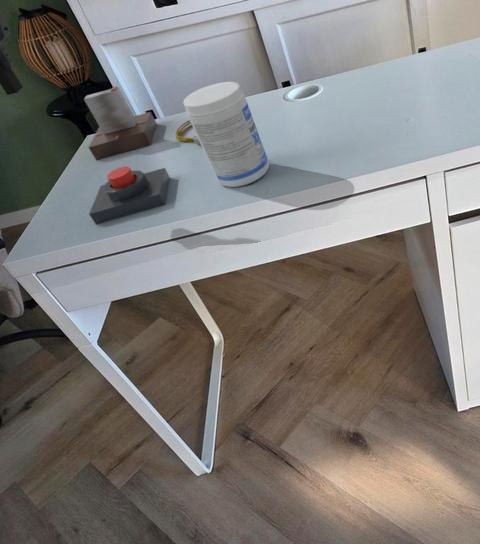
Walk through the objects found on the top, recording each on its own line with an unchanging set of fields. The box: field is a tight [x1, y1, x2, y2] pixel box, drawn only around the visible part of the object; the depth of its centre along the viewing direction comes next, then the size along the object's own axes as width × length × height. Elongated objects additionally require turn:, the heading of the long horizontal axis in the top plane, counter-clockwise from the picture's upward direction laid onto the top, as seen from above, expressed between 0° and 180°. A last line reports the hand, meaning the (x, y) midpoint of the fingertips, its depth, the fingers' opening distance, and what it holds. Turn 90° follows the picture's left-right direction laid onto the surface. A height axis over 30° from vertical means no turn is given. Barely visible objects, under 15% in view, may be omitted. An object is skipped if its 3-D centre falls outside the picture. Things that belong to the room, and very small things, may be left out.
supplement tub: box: [182, 81, 270, 188], centre depth 81 cm, size 10×10×15 cm
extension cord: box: [175, 120, 201, 146], centre depth 103 cm, size 12×16×2 cm
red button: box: [106, 166, 136, 188], centre depth 84 cm, size 4×4×2 cm
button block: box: [88, 167, 171, 225], centre depth 85 cm, size 12×10×4 cm
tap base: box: [88, 111, 157, 161], centre depth 108 cm, size 12×12×3 cm
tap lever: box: [83, 85, 137, 135], centre depth 104 cm, size 7×2×8 cm, turn 102°
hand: (15, 90), depth 76 cm, fingers closed
